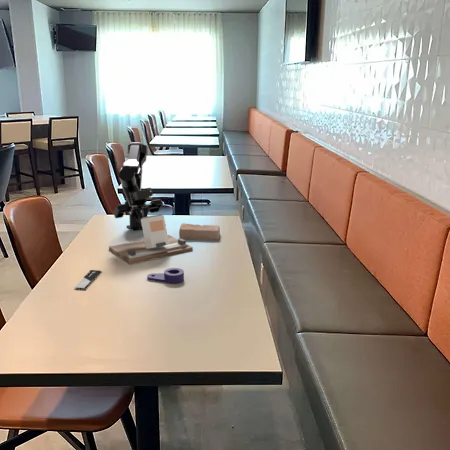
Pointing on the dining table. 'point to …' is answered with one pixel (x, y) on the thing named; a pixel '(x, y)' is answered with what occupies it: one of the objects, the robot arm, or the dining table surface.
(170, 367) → the dining table surface
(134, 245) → the board
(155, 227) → the relay module
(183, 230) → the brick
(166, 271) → the lever
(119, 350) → the dining table surface
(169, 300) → the dining table surface
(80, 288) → the computer memory module
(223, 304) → the dining table surface
